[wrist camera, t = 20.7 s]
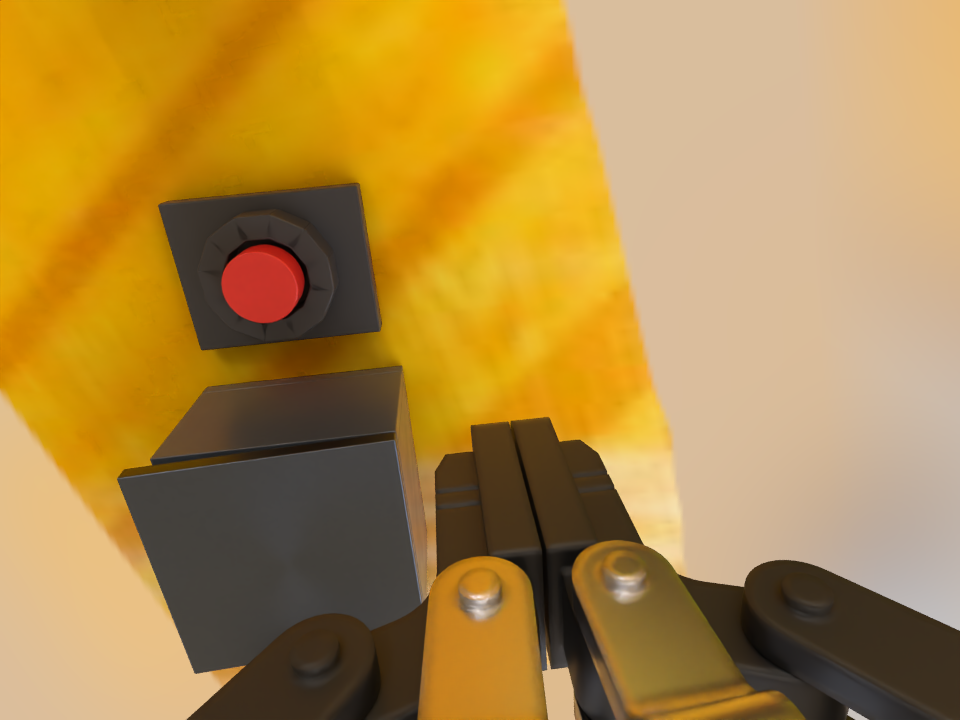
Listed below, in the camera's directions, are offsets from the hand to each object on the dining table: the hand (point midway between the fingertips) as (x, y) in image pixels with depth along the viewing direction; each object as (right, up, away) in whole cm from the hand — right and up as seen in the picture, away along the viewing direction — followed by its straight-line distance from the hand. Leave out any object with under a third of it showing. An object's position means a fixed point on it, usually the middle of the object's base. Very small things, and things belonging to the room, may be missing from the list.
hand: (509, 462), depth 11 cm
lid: (-10, -8, +19) cm, 23 cm away
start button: (-11, +6, +18) cm, 22 cm away
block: (-12, +7, +21) cm, 25 cm away
